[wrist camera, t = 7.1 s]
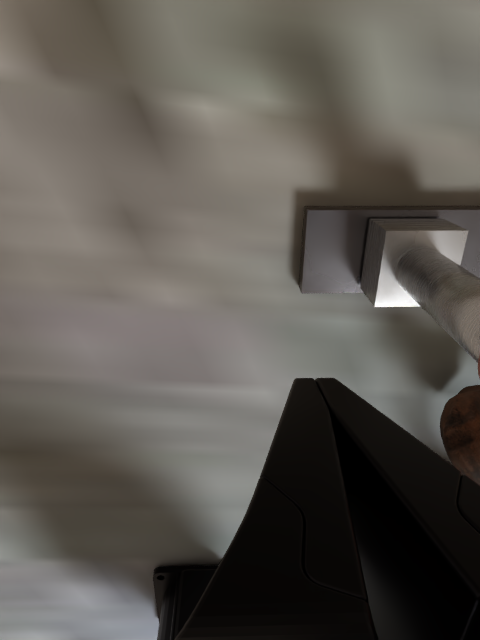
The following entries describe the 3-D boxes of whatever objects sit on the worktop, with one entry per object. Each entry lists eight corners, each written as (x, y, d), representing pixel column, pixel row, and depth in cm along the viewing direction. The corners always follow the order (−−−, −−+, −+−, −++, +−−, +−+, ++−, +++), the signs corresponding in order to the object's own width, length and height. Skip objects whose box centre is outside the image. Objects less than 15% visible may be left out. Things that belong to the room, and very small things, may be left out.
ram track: (598, 284, 20) (613, 291, 19) (299, 286, 19) (301, 293, 19) (630, 205, 18) (646, 209, 17) (304, 206, 18) (307, 210, 17)
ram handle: (428, 287, 18) (628, 459, 9) (360, 287, 18) (493, 461, 9) (443, 218, 17) (693, 337, 8) (369, 218, 17) (535, 338, 8)
